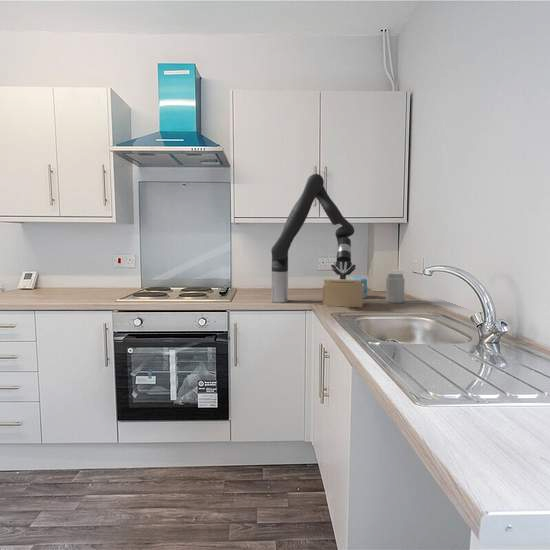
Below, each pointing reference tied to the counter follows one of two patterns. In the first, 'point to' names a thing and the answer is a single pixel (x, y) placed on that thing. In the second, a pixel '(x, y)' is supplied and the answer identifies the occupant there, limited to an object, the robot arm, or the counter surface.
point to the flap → (342, 282)
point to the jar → (395, 286)
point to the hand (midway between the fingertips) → (342, 280)
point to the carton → (343, 295)
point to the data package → (364, 281)
